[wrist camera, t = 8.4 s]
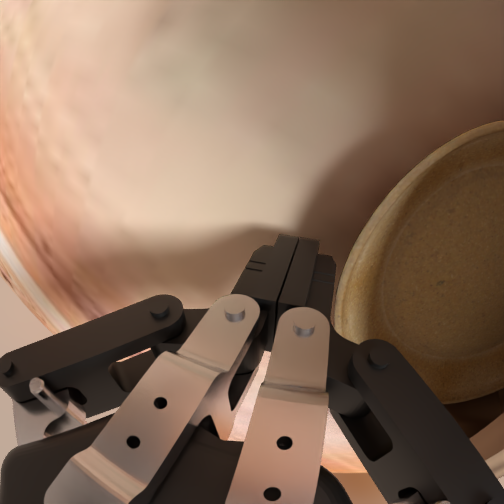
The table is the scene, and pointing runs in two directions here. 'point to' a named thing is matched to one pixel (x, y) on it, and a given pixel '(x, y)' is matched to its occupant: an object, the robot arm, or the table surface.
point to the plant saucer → (436, 269)
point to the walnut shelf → (484, 427)
